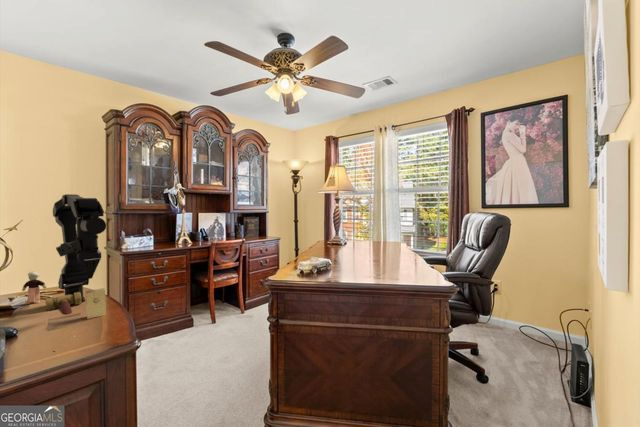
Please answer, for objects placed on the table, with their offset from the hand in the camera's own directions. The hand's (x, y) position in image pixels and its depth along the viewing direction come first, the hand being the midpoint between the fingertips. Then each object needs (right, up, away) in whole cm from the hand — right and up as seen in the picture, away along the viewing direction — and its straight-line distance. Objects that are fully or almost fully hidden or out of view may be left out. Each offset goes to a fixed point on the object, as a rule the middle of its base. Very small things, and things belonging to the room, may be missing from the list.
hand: (89, 276), depth 106 cm
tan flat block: (+2, -13, -12) cm, 18 cm away
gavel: (-9, -14, +1) cm, 16 cm away
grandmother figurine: (-32, -14, +12) cm, 37 cm away
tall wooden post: (+8, -13, -7) cm, 17 cm away
